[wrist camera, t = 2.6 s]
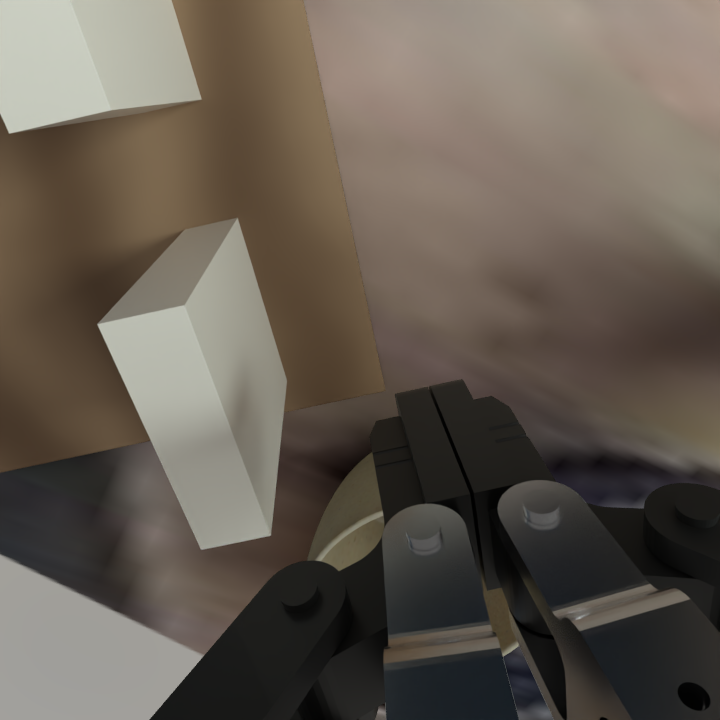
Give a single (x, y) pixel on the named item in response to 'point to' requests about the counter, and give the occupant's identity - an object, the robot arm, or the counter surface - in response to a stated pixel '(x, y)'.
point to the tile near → (90, 61)
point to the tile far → (206, 380)
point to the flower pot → (364, 530)
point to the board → (177, 231)
